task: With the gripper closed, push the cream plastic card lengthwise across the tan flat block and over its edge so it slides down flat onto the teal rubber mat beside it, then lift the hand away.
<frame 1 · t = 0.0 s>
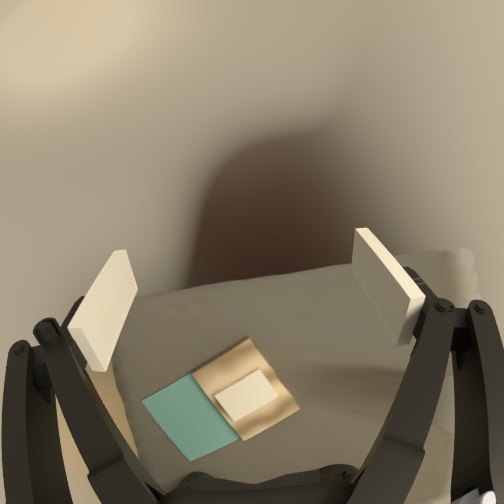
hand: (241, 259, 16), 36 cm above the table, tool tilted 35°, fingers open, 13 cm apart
tan flat block: (246, 389, 50), on the table
card: (246, 393, 47), point 2 cm above the table, touching tan flat block
mat: (191, 419, 49), on the table
coffee jar: (200, 486, 47), on the table
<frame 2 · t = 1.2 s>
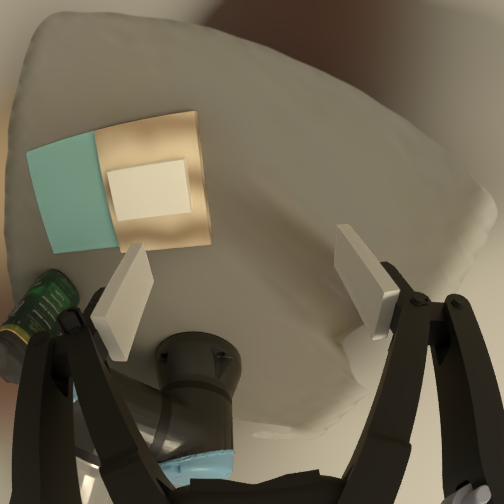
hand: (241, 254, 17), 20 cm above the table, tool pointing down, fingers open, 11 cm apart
tan flat block: (156, 181, 34), on the table
card: (151, 187, 32), point 2 cm above the table, touching tan flat block
mat: (72, 196, 34), on the table
coffee jar: (57, 290, 41), on the table
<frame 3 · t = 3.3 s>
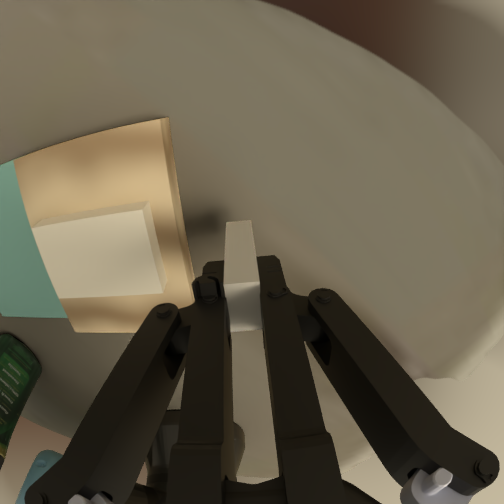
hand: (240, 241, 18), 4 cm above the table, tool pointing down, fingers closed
tan flat block: (112, 234, 21), on the table
card: (100, 249, 19), point 2 cm above the table, touching tan flat block
mat: (8, 249, 21), on the table
coffee jar: (16, 353, 28), on the table
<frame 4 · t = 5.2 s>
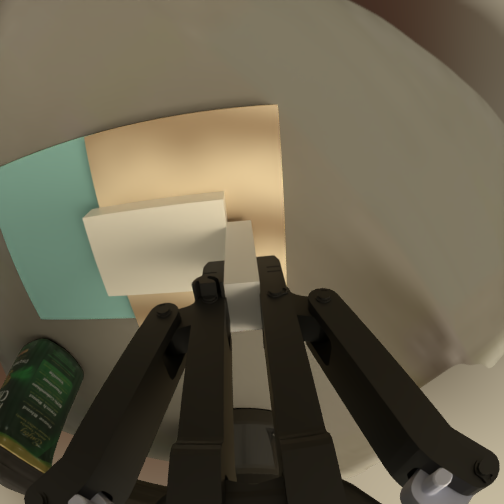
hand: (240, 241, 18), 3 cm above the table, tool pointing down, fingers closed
tan flat block: (197, 224, 21), on the table
card: (162, 242, 19), point 2 cm above the table, touching tan flat block, gripper
mat: (57, 243, 21), on the table
coffee jar: (52, 358, 29), on the table
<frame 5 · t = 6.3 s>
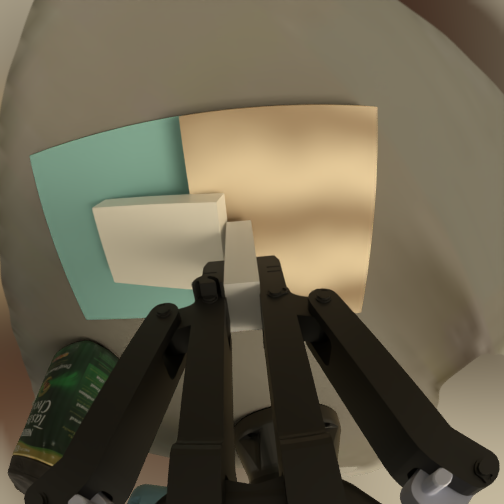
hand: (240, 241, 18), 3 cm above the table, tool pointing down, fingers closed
tan flat block: (283, 216, 22), on the table
card: (165, 237, 20), point 2 cm above the table, tilted 14°
mat: (118, 235, 21), on the table
coffee jar: (91, 361, 29), on the table
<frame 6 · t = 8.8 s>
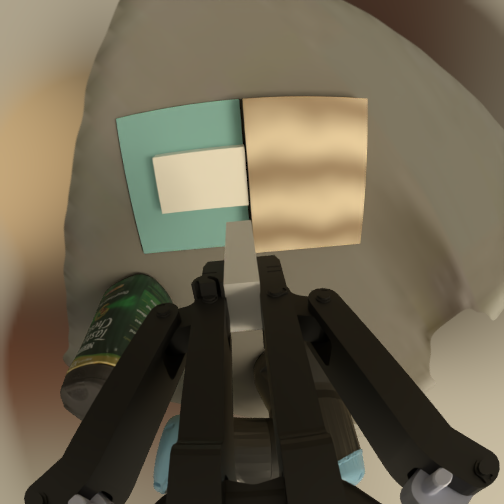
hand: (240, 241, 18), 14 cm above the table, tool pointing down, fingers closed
tan flat block: (304, 170, 30), on the table
card: (202, 176, 30), resting on mat
mat: (185, 180, 30), on the table
coffee jar: (138, 297, 38), on the table
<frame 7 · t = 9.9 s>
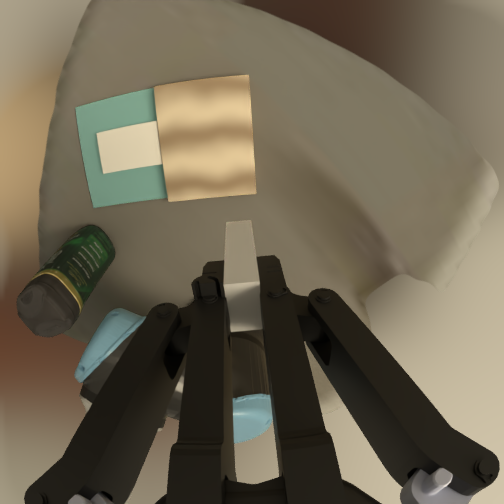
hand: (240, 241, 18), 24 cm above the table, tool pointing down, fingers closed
tan flat block: (207, 136, 38), on the table
card: (131, 146, 37), resting on mat
mat: (120, 150, 38), on the table
coffee jar: (91, 247, 45), on the table
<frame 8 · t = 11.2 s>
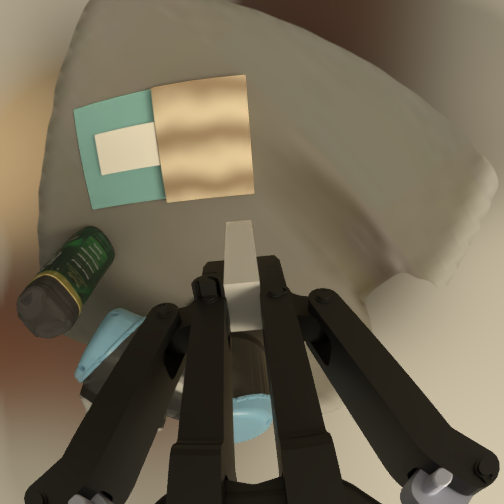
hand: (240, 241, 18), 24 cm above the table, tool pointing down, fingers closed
tan flat block: (204, 137, 38), on the table
card: (129, 147, 37), resting on mat
mat: (119, 151, 38), on the table
coffee jar: (90, 248, 45), on the table
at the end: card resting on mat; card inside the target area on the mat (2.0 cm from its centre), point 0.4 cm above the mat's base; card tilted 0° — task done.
